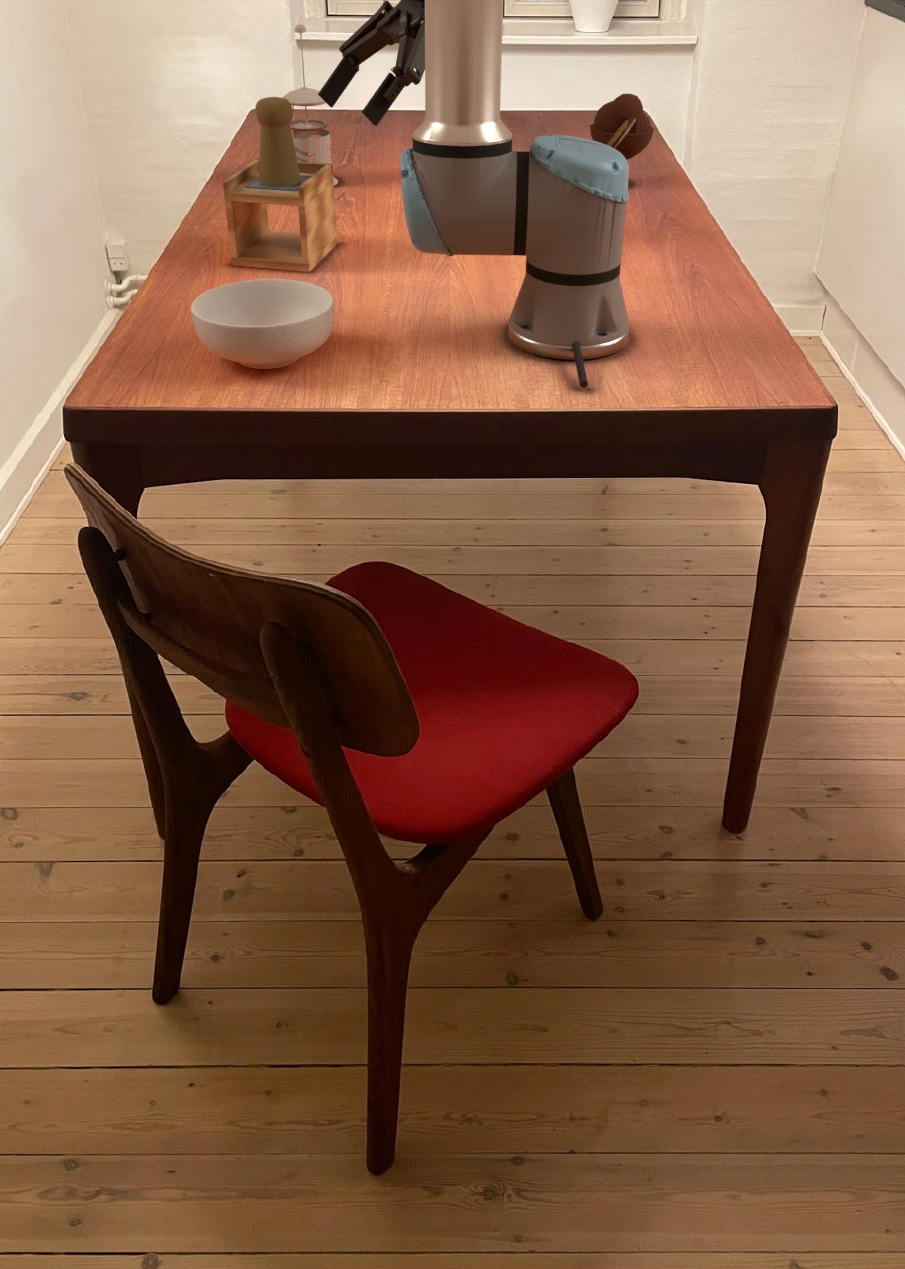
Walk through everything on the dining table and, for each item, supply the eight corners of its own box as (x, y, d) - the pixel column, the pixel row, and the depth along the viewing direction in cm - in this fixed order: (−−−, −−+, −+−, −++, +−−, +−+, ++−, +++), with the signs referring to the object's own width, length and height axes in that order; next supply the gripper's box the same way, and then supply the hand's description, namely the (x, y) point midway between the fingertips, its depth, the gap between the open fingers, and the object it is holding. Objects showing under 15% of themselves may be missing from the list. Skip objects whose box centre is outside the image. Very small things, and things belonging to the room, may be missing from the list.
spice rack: (309, 272, 161) (303, 187, 154) (231, 265, 164) (222, 181, 156) (337, 244, 172) (332, 163, 164) (263, 238, 174) (256, 158, 167)
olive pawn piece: (252, 185, 159) (244, 101, 153) (267, 174, 164) (260, 92, 157) (292, 188, 158) (285, 103, 152) (306, 176, 163) (300, 94, 156)
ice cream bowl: (656, 181, 200) (666, 90, 191) (630, 196, 193) (639, 102, 184) (603, 172, 205) (611, 83, 196) (575, 186, 197) (582, 94, 188)
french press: (312, 193, 193) (301, 31, 178) (264, 181, 199) (249, 23, 184) (349, 180, 200) (342, 23, 185) (302, 170, 205) (291, 16, 190)
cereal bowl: (339, 329, 144) (336, 275, 140) (334, 383, 131) (331, 325, 127) (207, 331, 143) (200, 276, 139) (188, 385, 130) (180, 327, 126)
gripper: (498, 14, 152) (406, 145, 155) (407, -8, 169) (324, 110, 172) (466, -28, 147) (371, 108, 150) (375, -47, 164) (290, 76, 166)
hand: (346, 110), depth 161 cm, fingers open, 13 cm apart
